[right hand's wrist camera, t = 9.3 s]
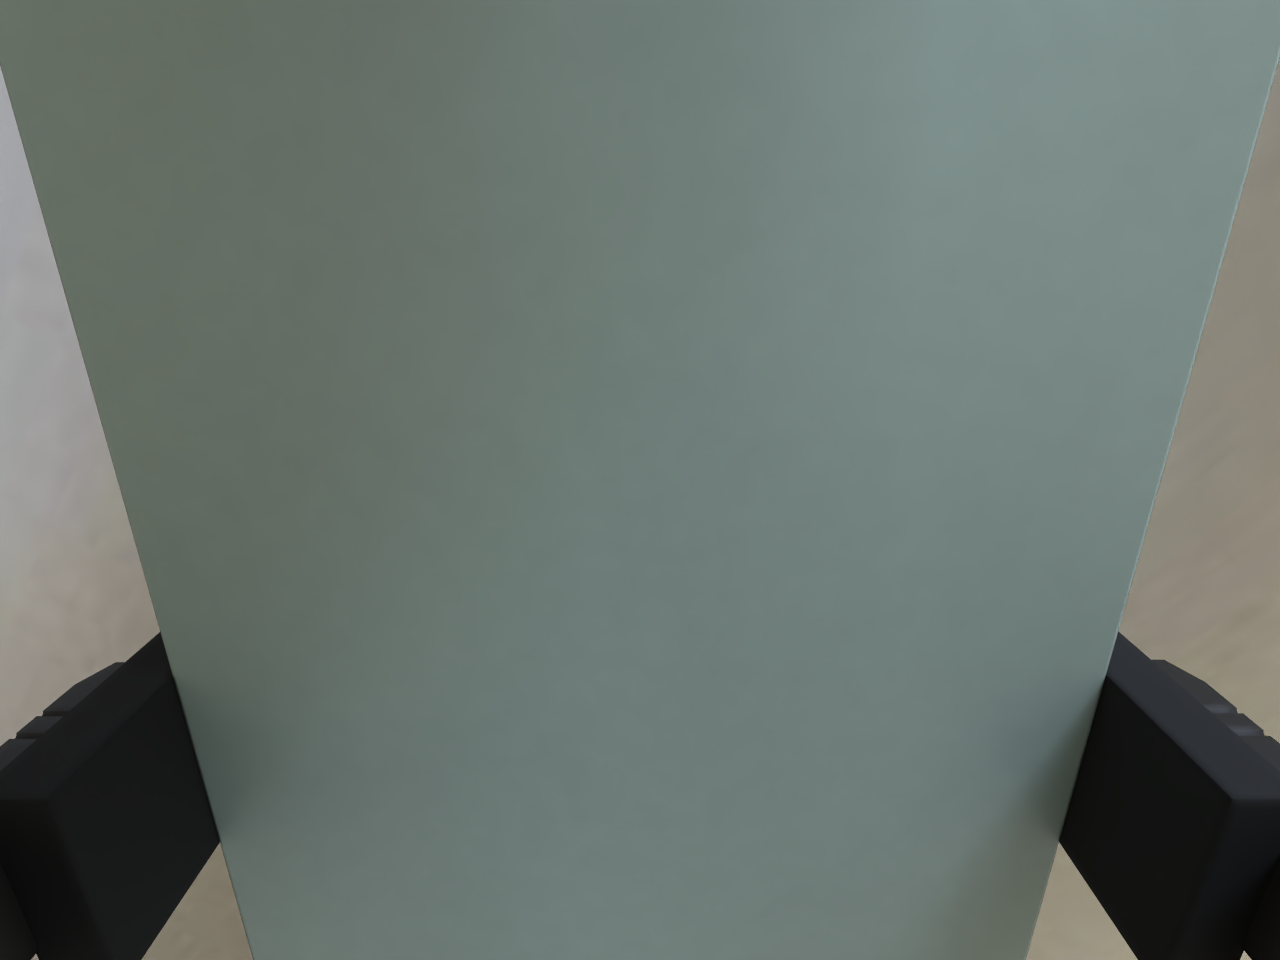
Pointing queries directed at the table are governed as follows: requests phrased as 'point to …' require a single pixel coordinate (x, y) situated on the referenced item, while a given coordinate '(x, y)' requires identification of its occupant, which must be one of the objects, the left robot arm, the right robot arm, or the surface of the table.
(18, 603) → the table surface
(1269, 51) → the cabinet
